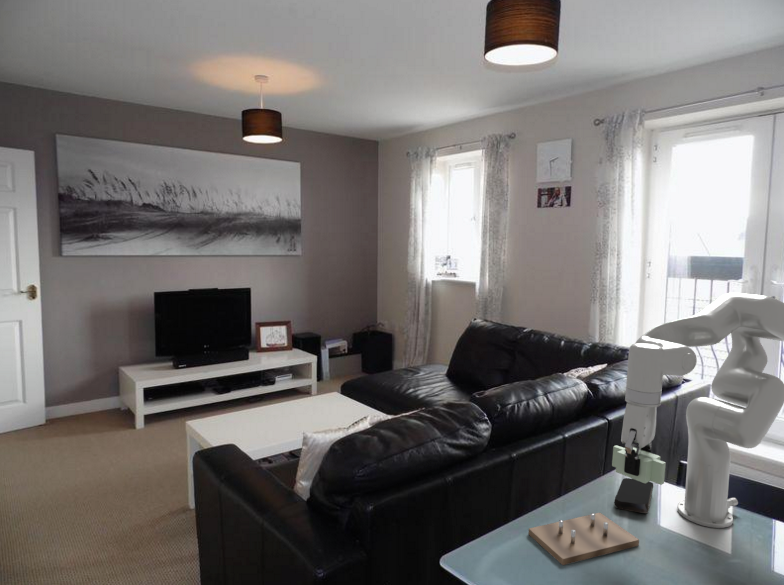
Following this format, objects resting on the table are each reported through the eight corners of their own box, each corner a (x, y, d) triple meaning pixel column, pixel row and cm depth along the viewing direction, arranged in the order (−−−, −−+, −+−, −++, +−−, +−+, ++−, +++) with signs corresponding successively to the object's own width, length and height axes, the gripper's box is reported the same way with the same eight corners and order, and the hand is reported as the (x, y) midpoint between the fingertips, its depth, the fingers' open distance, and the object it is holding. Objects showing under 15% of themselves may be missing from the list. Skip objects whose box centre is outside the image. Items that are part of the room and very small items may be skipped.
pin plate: (599, 517, 137) (600, 501, 136) (638, 545, 125) (639, 527, 124) (528, 534, 129) (529, 516, 129) (562, 565, 117) (563, 546, 116)
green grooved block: (606, 468, 127) (607, 448, 127) (620, 462, 131) (621, 443, 131) (655, 487, 118) (657, 466, 117) (669, 480, 122) (671, 459, 121)
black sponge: (647, 519, 137) (648, 505, 136) (612, 510, 141) (613, 497, 141) (653, 493, 151) (654, 481, 150) (622, 486, 155) (622, 474, 155)
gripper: (638, 386, 132) (633, 454, 133) (612, 400, 119) (607, 475, 121) (671, 392, 126) (665, 463, 128) (647, 407, 114) (641, 486, 116)
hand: (637, 468), depth 124 cm, fingers closed on green grooved block, 7 cm apart
